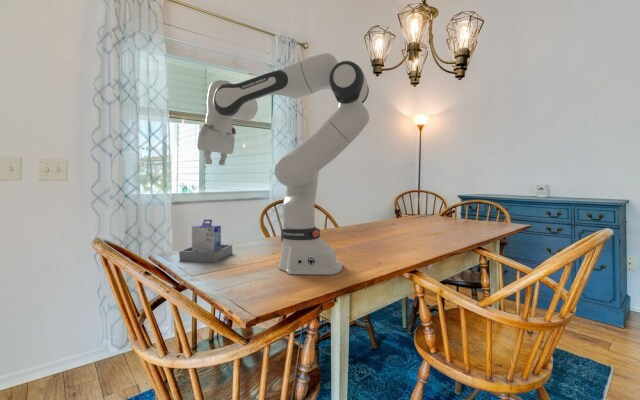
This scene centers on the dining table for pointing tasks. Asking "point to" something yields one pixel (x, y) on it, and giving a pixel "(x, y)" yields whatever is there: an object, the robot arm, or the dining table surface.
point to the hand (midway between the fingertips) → (215, 164)
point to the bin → (205, 254)
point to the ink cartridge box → (206, 237)
